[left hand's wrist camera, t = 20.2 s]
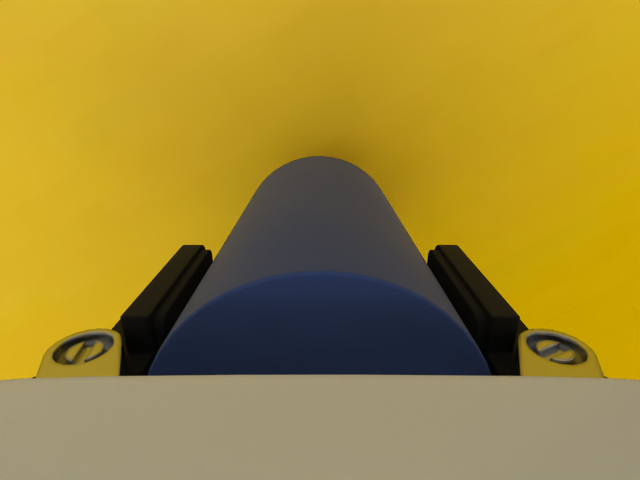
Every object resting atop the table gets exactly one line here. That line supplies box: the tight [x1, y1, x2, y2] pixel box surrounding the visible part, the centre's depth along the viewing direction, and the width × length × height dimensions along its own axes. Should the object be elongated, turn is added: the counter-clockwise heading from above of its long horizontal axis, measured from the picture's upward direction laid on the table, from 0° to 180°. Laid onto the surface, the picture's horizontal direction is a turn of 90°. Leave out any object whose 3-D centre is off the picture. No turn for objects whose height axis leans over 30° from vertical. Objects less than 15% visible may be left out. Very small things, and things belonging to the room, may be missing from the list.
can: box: [148, 156, 491, 376], centre depth 12 cm, size 6×6×11 cm
